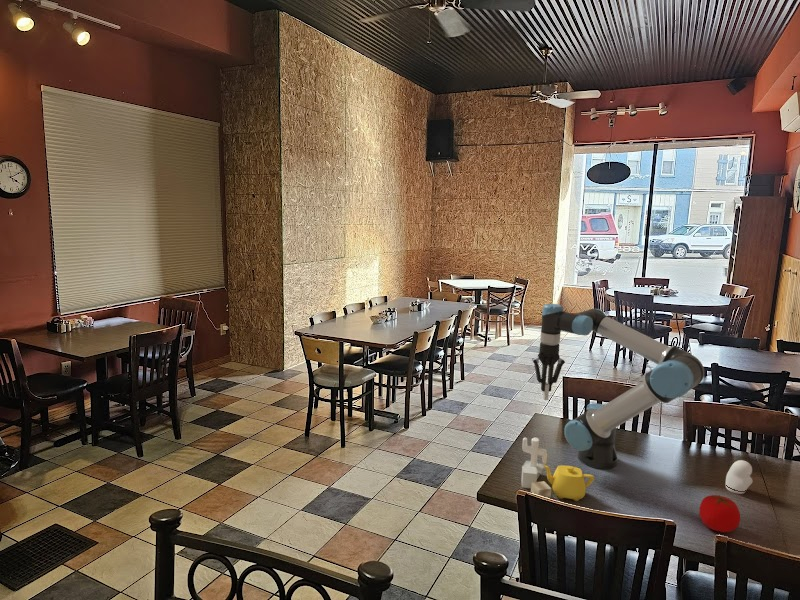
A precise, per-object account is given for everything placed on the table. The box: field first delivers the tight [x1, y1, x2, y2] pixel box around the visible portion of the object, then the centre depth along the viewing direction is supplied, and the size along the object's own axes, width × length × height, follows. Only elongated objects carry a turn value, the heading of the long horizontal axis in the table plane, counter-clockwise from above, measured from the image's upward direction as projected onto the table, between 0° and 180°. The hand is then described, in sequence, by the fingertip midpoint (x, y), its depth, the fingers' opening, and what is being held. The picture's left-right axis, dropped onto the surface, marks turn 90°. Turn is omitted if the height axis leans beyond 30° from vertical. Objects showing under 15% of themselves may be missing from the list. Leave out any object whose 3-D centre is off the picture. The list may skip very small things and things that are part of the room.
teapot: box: [543, 464, 595, 502], centre depth 189 cm, size 18×11×11 cm, turn 76°
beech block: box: [530, 480, 552, 498], centre depth 186 cm, size 5×5×5 cm
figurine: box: [521, 436, 548, 480], centre depth 201 cm, size 7×9×15 cm
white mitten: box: [725, 459, 753, 495], centre depth 194 cm, size 7×8×12 cm
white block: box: [520, 465, 538, 489], centre depth 195 cm, size 5×5×6 cm
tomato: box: [699, 494, 741, 533], centre depth 171 cm, size 11×12×10 cm
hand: (545, 398), depth 214 cm, fingers closed
